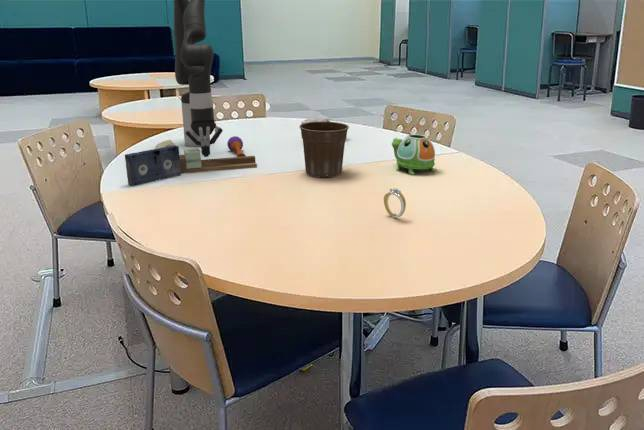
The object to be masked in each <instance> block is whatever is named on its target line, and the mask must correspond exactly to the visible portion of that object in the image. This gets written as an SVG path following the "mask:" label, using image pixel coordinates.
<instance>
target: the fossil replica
mask: <svg viewBox="0 0 644 430" xmlns="http://www.w3.org/2000/svg"><path fill="white" fill-rule="evenodd" d="M174 145H175V146H177V145H176V143H174V142H173V141H172V140H171V139H168V140H167V139H166V140H164V141H162V142H159V143H157V144H156V145H155V147H154V149H159V148H164V147H169V146H174Z"/></svg>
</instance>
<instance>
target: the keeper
mask: <svg viewBox="0 0 644 430" xmlns="http://www.w3.org/2000/svg"><path fill="white" fill-rule="evenodd" d="M183 155H185V158H186V166H187V169H190V168H202V165H201V160H202V153H201V149H200V148H199V147H190V148H183Z"/></svg>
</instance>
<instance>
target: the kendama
mask: <svg viewBox="0 0 644 430" xmlns="http://www.w3.org/2000/svg"><path fill="white" fill-rule="evenodd" d="M226 145H227V148H228V149H229V150H230V151H231V152H232V153H233V152H234V153H236V157H243V156H247V155H246V154H245V153H244V152H243V150H242V149H243V147H244V142H243V140H242V138H241V137H240V136H235V135H233V136H231V137H229V138H228V139H227V144H226Z"/></svg>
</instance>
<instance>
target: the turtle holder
mask: <svg viewBox="0 0 644 430" xmlns="http://www.w3.org/2000/svg"><path fill="white" fill-rule="evenodd" d="M391 146H392V148H393V152H394V158H395V159H396V164H397V166H396V171H398V170H399V171H401V170H402V168H404V169H407V171H408V174H409V175H411V176H413V175H416V173H415V170H428V171H429V172H430V171H431V172H430V173H435V172H436V171H435V169H434V168H433V167H434V166H435V164H436V163H435V158H436V157H435V156H436V149H435V146H434V144H433V142H432V141H431V139H429V138H428V136H426V135H423V134H419V133H418V134H417V133H413V134H407V135H406V136H405V137H404V138H403V139H402V138H397V137H396V138H393V140H392V142H391ZM400 169H401V170H400Z"/></svg>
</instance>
